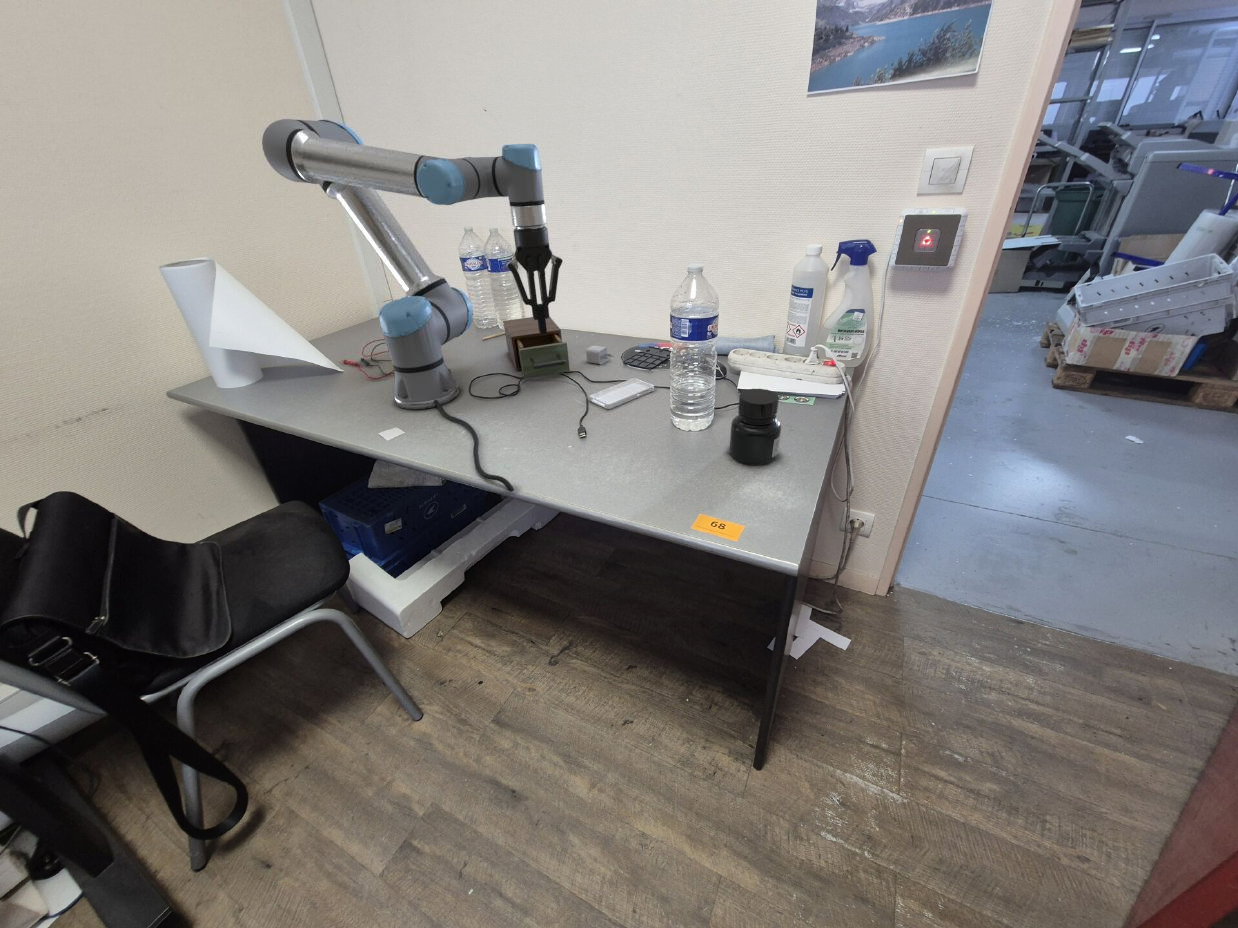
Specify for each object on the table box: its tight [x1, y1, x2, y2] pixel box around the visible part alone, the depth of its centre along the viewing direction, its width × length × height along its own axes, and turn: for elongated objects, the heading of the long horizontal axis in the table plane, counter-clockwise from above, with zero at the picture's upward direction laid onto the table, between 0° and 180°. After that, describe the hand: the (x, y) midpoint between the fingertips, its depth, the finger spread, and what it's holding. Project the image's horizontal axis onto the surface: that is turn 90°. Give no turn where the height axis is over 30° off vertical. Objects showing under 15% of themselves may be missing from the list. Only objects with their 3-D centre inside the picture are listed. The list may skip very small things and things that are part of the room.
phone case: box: [588, 377, 655, 410], centre depth 121 cm, size 7×1×15 cm
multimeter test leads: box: [339, 338, 395, 380], centre depth 149 cm, size 23×4×25 cm
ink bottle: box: [729, 388, 782, 466], centre depth 92 cm, size 10×9×12 cm
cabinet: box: [502, 315, 563, 372], centre depth 145 cm, size 17×14×10 cm
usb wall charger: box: [585, 345, 613, 365], centre depth 140 cm, size 4×7×4 cm, turn 59°
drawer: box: [515, 333, 571, 380], centre depth 134 cm, size 22×12×8 cm, turn 19°
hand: (543, 332), depth 123 cm, fingers closed
